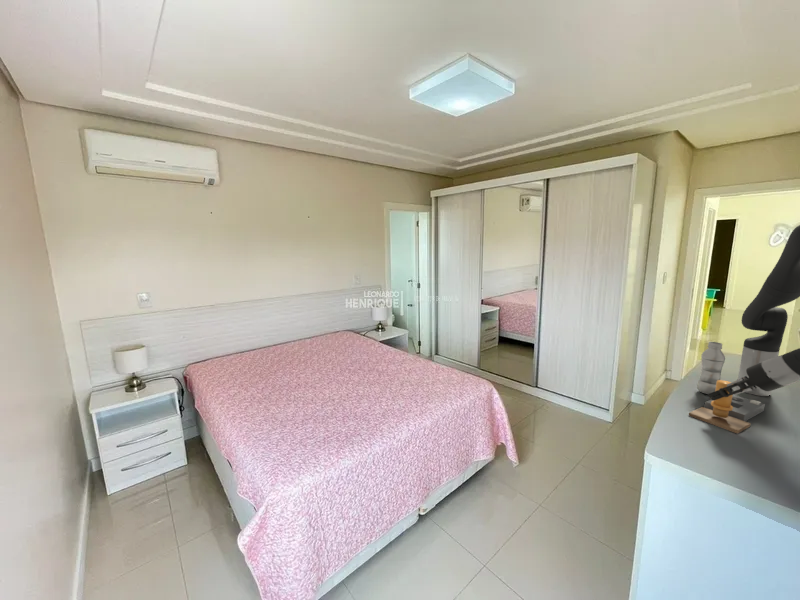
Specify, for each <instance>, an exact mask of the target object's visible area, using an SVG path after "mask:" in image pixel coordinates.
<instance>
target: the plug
mask: <svg viewBox="0 0 800 600" xmlns="http://www.w3.org/2000/svg"><path fill="white" fill-rule="evenodd" d="M729 383H732V382H731V381H728V380H724V379H720V380H717V383H716V389H715V391H717V390H719V389H720V388H724V387H727V384H729ZM732 385H733V384H732ZM725 390H726V389H725ZM726 391H727V390H726ZM727 392H728V391H727ZM728 394H729V392H728ZM733 395H734V394H733ZM733 395H730V396H728V397H722V398H720V399H717V400H714V401H711V405H712V406H713V412H712V413H713V414H714V415H716V416H718V417H722V418H728V414H729V411H732V410H733V406H731V402H732V396H733Z"/></svg>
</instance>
